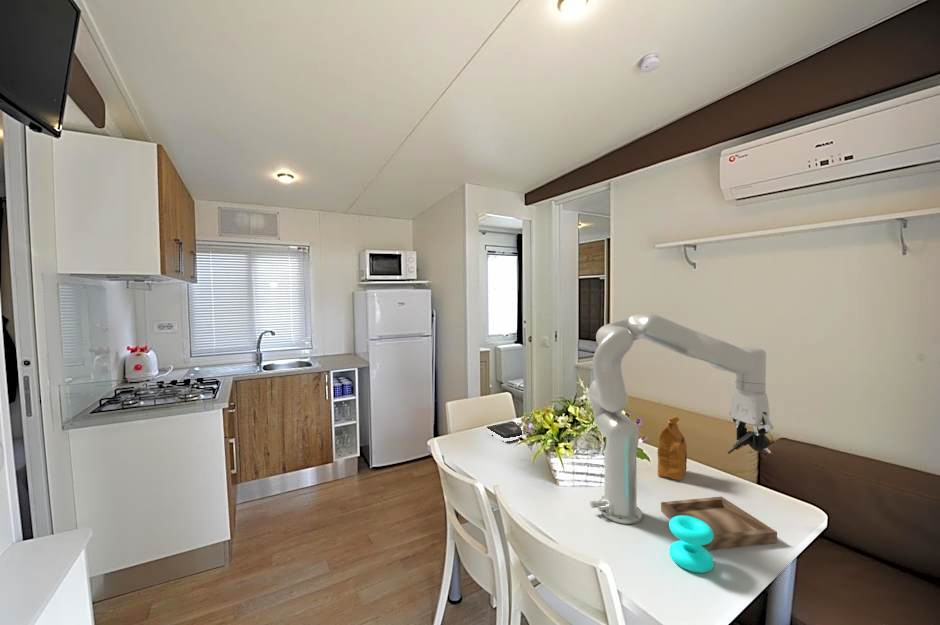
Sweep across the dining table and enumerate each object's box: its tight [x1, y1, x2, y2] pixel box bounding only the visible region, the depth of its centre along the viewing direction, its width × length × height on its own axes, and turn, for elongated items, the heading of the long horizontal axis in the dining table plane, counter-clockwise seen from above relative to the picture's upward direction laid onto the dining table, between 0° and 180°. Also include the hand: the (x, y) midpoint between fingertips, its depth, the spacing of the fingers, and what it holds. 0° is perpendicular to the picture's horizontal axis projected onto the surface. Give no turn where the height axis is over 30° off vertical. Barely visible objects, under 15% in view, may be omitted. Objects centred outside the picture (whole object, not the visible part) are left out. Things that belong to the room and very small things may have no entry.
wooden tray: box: [660, 496, 778, 552], centre depth 114 cm, size 22×20×3 cm
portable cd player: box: [486, 421, 522, 438], centre depth 195 cm, size 16×17×4 cm
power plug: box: [727, 430, 772, 455], centre depth 121 cm, size 6×8×12 cm
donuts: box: [668, 515, 715, 574], centre depth 98 cm, size 10×10×10 cm
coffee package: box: [657, 415, 688, 481], centre depth 147 cm, size 10×12×22 cm
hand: (749, 442), depth 120 cm, fingers closed on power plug, 5 cm apart
